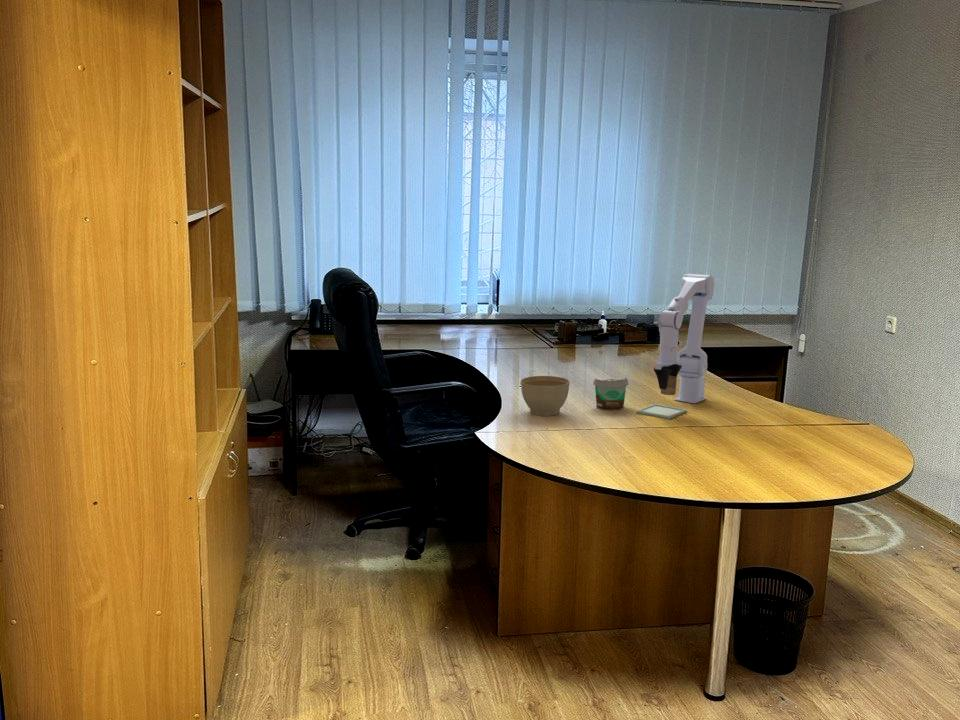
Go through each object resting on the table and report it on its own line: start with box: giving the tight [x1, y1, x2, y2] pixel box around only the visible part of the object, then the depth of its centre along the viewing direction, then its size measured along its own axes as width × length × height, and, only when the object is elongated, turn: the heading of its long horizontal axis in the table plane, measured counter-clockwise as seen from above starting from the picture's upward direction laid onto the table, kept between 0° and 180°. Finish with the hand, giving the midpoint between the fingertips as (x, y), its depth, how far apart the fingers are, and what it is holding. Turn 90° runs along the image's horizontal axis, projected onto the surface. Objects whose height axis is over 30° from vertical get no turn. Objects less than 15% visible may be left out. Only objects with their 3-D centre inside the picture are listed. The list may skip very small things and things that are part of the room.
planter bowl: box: [520, 375, 571, 417], centre depth 290 cm, size 16×16×11 cm
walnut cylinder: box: [660, 375, 678, 396], centre depth 291 cm, size 5×5×6 cm
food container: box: [592, 376, 629, 411], centre depth 297 cm, size 12×6×10 cm, turn 105°
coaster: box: [636, 403, 688, 420], centre depth 293 cm, size 12×12×1 cm
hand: (666, 387), depth 291 cm, fingers closed on walnut cylinder, 5 cm apart
